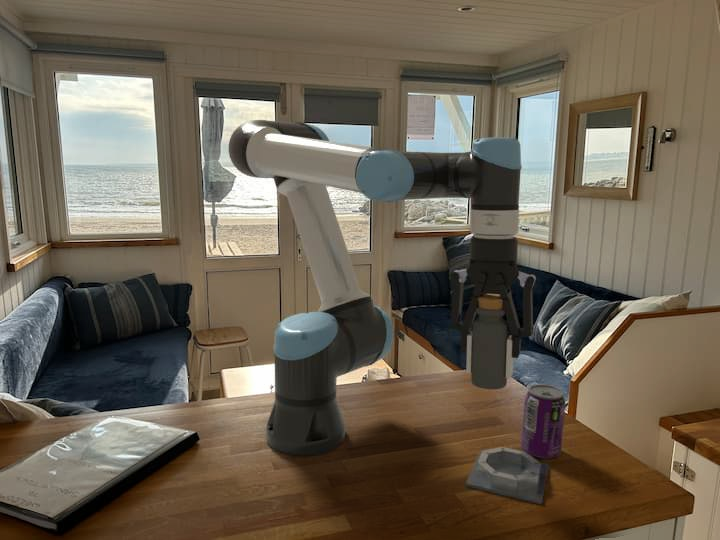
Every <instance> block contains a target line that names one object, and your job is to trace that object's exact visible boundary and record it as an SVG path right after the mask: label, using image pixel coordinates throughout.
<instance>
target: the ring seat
mask: <svg viewBox="0 0 720 540" xmlns="http://www.w3.org/2000/svg"><path fill="white" fill-rule="evenodd" d="M549 466H550V465H549V463H544V462H540V461H539V460H537V459H536V458H534V456H533V455H531V454H530V453H528V452H526V451H525V450H518V449H513V448H509V447H505V446H499V447H494V448H490V449H485V450H482V449H479V452H478V455H477V457H476V458H475V462H474V463H473V466H472V468H471V471H470V473H469V475H468V477H467V479H466V482H465V487H466V488H470V489H473V490H474V489H475V490H479V491H482V492H483V491H484V492H486V493H487V492H488V493H491V494H497V495H500V496H503V497H508V498H513V499H516V500H520V501H521V500H522V501H525V502H529V503H534V504H537V505H542V503H543V498H544V492H545V487H546V483H547V481H546V480H547V478H548V477H547V476H548V471H549Z"/></svg>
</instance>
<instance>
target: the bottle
mask: <svg viewBox="0 0 720 540" xmlns="http://www.w3.org/2000/svg"><path fill="white" fill-rule="evenodd" d="M502 302H503V300H501V298H500V295H499V294H495V293H483V295H482V296H481V297H480V298H478V306H477V307H476V315H478V317H477V318H476V319H474V321H473V324H472V332H473V336H472V372H471V373H470V375H471V379H470V381H471V384H472V385H473V386H475V387H477V388H480V389H485V390H499V389H500V390H501V389H504V388H505V387H506V386H507V384H508V383H507V381H508V378H506V354H507V339H508V337H509V336H510V335H509V331H510V328H509V325H508V321H507V319H506V320H505V319H504V316H506V314H505V310H504V306H503V303H502Z"/></svg>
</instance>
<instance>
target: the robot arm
mask: <svg viewBox="0 0 720 540" xmlns="http://www.w3.org/2000/svg"><path fill="white" fill-rule="evenodd" d="M228 142H229V143H228V156H229V158H230V161H231V162H232V165H233V166H234V167H235V168H236V169H237V171H238V172H241V174H243V175H246V176H248V177H250V178H251V177H252V178H255V179H256V178H257V179H258V178H259V179H273V181H274V185H275V187H276V190H277V192H278V194H281V195H282V196H285V197H286V198H287V201H288V204H289V207H290V209H291V213H292V216H293V219H294V222H295V223H294V224H295V225H296V229H297V232H298V234H299V235H298V236H299V237H300V242H301V244H302V246H303V250H304V254H305V255H306V256H305V257H306V259H307V262H308V266H309V269H310V271H311V275H312V277H313V278H312V279H313V281H314V283H315V286H316V291H317V292H318V296H319V299H320V302H321V303H320V307H319V308H318V310H317V311H309V312H301V313H296V314H293V315H290V316H288V317H286V318H284V319H283V320H281V321H280V322H279V323H278V324H277V326H276V328H275V330H274V331H275V332H274V342H273V353H274V355H273V356H274V402H273V404H272V407H271V411H270V413H269V416H268V420H267V423H266V427H265V435H266V437H265V439H266V442H267V444H268V445H269V446H270V447H271V449H274V450H276V452H281V453H283V454H286V455H290V456H299V457H300V456H301V457H302V456H307V457H308V456H316V455H321V454H326V453H328V452H331V451H333V450H335V449H336V448H338V447H339V446H341V445H342V443H344V441H345V438H346V437H345V436H346V424H345V420H344V417H343V414H342V411H341V408H340V405H339V401H338V399H337V378H338V377H341V376H343V375H346V374H348V373H351V372H354V371H357V370H359V369H362V368H365V367H369V366H373V365H374V364H375V363H377V362H378V361H381V360H382V359H384V358H385V357H386V356H387V355H388V354H389V352H390V350H391V348H392V345H393V344H394V343H393V341H394V327H393V321H392V318H391V317H390V315H389V314H388V313H387V312H386V311H385V310H383V308H382V307H379V306H377V305H374V302H373V299H372V296H371V294H369V293H367V292H365V291H363V290H362V289H361V287H360V284H359V280H358V277H357V275H356V272H355V268H354V266H353V263H352V259H351V256H350V253H349V251H348V248H347V245H346V241H345V238H344V235H343V233H342V230H341V227H340V223H339V221H338V219H337V215H336V212H335V209H334V207H333V203H332V200H331V197H330V194H329V192H328V189H327V187H330V188H336V189H341V190H345V191H349V192H356V193H360V194H363V196H365V197H366V198H367V199H368V200H370V201H374V202H385V203H393V202H397V201H406V200H407V201H411V200H424V199H439V198H441V199H446V198H447V199H450V198H451V199H452V198H453V199H454V198H455V199H470V205H471V206H470V228H469V230H470V233H471V234H472V235H473V236H471V238H470V239H469V262H468V265H467V267H466V268H465V269H461V270H460V269H455V270H454V271H452V272H451V273H450V280H451V283H452V299H451V311H450V324H449V325H450V328H451V330H453V331H454V330H455V331H457V332H459V333H460V338H461V339H460V350H461V353H466V367H465V368H466V370H465V371H466V372H465V373H467V374H471V372H472V336H473V330H471V329H472V328H473V322H474V320H475V318H476V315H477V313H476V307H477V306H478V298H480V297H481V296H482V295H483V294H490V293H491V294H499V295H500V298H501V300H503V302H502V303H503V306H504V310H505V314H506V315H505V317H506V321H507V322H508V325H509V331H510V334H511V335H509V336H508V339H507V354H506V378H507V379H511V378H512V377H513V373H514V359H518V358H519V357H520V355H521V344H522V343H521V342H522V339H524V338H530V337H531V336H532V334H533V331H534V320H533V319H534V318H533V317H534V315H533V314H534V312H533V311H534V309H533V306H534V303H533V289H534V285H535V282H536V280H537V276H536V275H535V274H528V273H525V272H523V271H521V270H520V268H519V265H518V250H519V249H518V246H519V245H518V244H519V243H518V241H519V240H518V239H517V237H516V236H515V235H517V234H518V233H519V224H520V223H519V222H520V220H519V219H520V204H519V203H520V189H521V187H520V185H521V173H522V172H521V170H522V168H523V167H522V161H521V159H522V158H521V157H522V156H521V155H522V154H521V143H520V141H519V140H518V139H517V138H516V137H515V138H514V137H502V136H501V137H497V136H496V137H481V138H479V137H478V138H476V139H475V140H473V142H472V146H471V150H470V151H466V152H433V151H432V152H430V151H429V152H428V151H426V152H425V151H402V150H395V149H386V148H382V147H381V148H379V147H378V148H377V147H372V146H366V145H357V144H351V143H345V142H336V141H330V139H329V138H328V136H327V134H326V133H325V132H324V131H323V130H322V129H321V128H320V127H318V126H316V125H314V124H309V123H305V122H302V121H297V122H296V121H294V122H290V121H288V122H287V121H277V120H266V119H253V120H249V121H246V122H244V123H242V124H241V125H240V124H239V126H237V128H236V129H234V131H233V132H232V133H231V135H230V139H229V140H228ZM467 276H468V277H469V279H470V281H471V282H472V284H473V285H474V286H475V287H474V289H473V292H472V295H471V299H470V302H469V305H468V307H467V311H466V314H465V317H464V320H463V321H462V310H463V300H464V298H463V297H464V286H465V285H464V283H465V282H466V281H467ZM517 279H518V280H519V285H520V286H521V288H523V289H522V326H523V327H522V328H521V325H520V322H519V318H518V315H517V311H516V307H515V303H514V300H513V295H512V294H513V293H512V290H511V286H512V285H513V284H514V283H515V281H516V280H517Z"/></svg>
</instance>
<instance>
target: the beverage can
mask: <svg viewBox="0 0 720 540" xmlns="http://www.w3.org/2000/svg"><path fill="white" fill-rule="evenodd" d="M564 395H565V393H564V391H563V390H562V389H561V388H559V387H557V386H553V385H549V384H543V383H542V384H541V383H540V384H538V383H537V384H532V385H529V386H528V387H527V392H526V394H525V396H524V403H523V404H524V405H523V414H522V429H521V441H520V445H521V446H520V447H521V449H523V451H524V452H526V453H528V454H529V455H530V456H532V457H536V458H540V459H550V458H555V457H558V456H559V455H560V454H561V453H562V445H563V434H564V433H563V432H564V423H565V412H566V400H565V397H564Z"/></svg>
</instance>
